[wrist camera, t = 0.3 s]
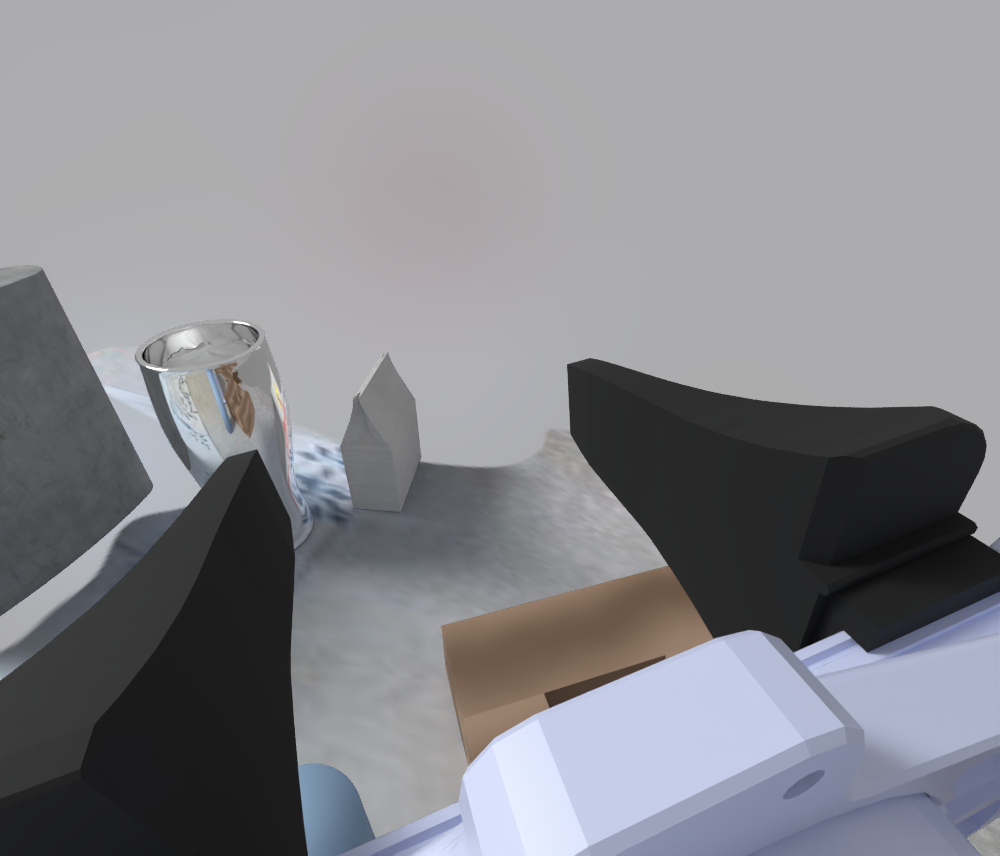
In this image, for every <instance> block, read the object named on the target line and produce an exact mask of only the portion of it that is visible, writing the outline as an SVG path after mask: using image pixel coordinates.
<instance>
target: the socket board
mask: <svg viewBox="0 0 1000 856" xmlns="http://www.w3.org/2000/svg"><path fill="white" fill-rule="evenodd" d="M442 636H443V646H444V656H445V665H446V671H447V676H448V680H449V684H450V689H451V693H452V697H453V701H454V706H455V710H456V714H457V719H458V723H459V727H460V732H461V736H462V740H463V745H464V749H465V753H466V758H467V762H468V766H469V765H470V764H471V763H472V762H473V761H474V760H475V759H476V757H477V756H478V755H479V754H480V753H481V752H482V751H483V750H484V749H485V748H486V747H487V746H488V745H489V743H490V742H491V741H492V740H493V739H494V738H495V737H497V736H499V735H500V734H502V733H504V732H506V731H507V730H509V729H511V728H512V727H514V726H516V725H518V724H519V723H521V722H523V721H524V720H526V719H528V718H530V717H531V716H533V715H535V714H537V713H540V712H542V711H544V710H547V709H549V708H551V707H554V706H556V705H559V704H561V703H563V702H566V701H568V700H570V699H573V698H575V697H578V696H580V695H582V694H585V693H587V692H589V691H592V690H594V689H596V688H599V687H601V686H604V685H606V684H608V683H611V682H613V681H615V680H618V679H620V678H623V677H625V676H627V675H630V674H632V673H634V672H637V671H639V670H642V669H644V668H646V667H649V666H651V665H653V664H656V663H658V662H661V661H663V660H665V659H668V658H670V657H672V656H675V655H677V654H679V653H682V652H684V651H687V650H689V649H691V648H694V647H696V646H698V645H701V644H703V643H706V642H708V641H710V640H713V637H712V636H711V634H710V632H709V630H708V629H707V627H706V625H705V624H704V622H703V620H702V618H701V617H700V615H699V613H698V612H697V610H696V608H695V607H694V605H693V603H692V602H691V600H690V599H689V597H688V595H687V594H686V592H685V591H684V589H683V587H682V586H681V584H680V583H679V581H678V579H677V578H676V576H675V575H674V573H673V571H672V570H671V568H670V567H669V566H665V567H662V568H658V569H654V570H650V571H647V572H643V573H639V574H635V575H632V576H628V577H624V578H620V579H616V580H613V581H609V582H605V583H601V584H598V585H594V586H590V587H586V588H583V589H579V590H575V591H571V592H567V593H564V594H560V595H556V596H552V597H549V598H545V599H541V600H537V601H534V602H530V603H526V604H522V605H518V606H515V607H511V608H507V609H503V610H500V611H496V612H492V613H488V614H485V615H481V616H477V617H473V618H469V619H466V620H462V621H458V622H454V623H451V624H447V625H443V626H442Z"/></svg>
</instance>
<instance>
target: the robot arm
mask: <svg viewBox="0 0 1000 856" xmlns="http://www.w3.org/2000/svg"><path fill="white" fill-rule="evenodd" d="M567 371H568V390H569V410H570V432H571V436H572V437H573V439H574V441H575V442H576V444H577V446H578V447H579V449H580V451H581V452H582V454H583V456H584V457H585V459H586V460H587V462H588V463H589V465H590V466H591V467H592V469H593V470H594V471H595V472H596V473H597V475H598V476H599V477H600V478H601V480H602V481H603V482H604V483H605V484H606V486H607V487H608V488H609V489H610V490H611V491H612V493H613V494H614V495H615V496H616V497H617V499H618V500H619V501H620V502H621V503H622V504H623V506H624V507H625V508H626V509H627V510H628V512H629V513H630V514H631V515H632V516H633V517H634V519H635V520H636V521H637V522H638V523H639V525H640V526H641V527H642V528H643V530H644V531H645V532H646V534H647V535H648V536H649V537H650V539H651V540H652V542H653V543H654V545H655V546H656V547H657V549H658V550H659V552H660V553H661V555H662V556H663V558H664V559H665V561H666V562H667V564H668V565H669V567H670V568H671V570H672V571H673V573H674V575H675V576H676V578H677V579H678V581H679V583H680V584H681V586H682V587H683V589H684V591H685V592H686V594H687V595H688V597H689V599H690V600H691V602H692V603H693V605H694V607H695V608H696V610H697V612H698V613H699V615H700V617H701V618H702V620H703V622H704V624H705V625H706V627H707V629H708V630H709V632H710V634H711V636H712V637H713V640H710V641H708V642H706V643H703V644H701V645H698V646H696V647H694V648H691V649H689V650H687V651H684V652H682V653H679V654H677V655H675V656H672V657H670V658H668V659H665V660H663V661H661V662H658V663H656V664H653V665H651V666H649V667H646V668H644V669H642V670H639V671H637V672H634V673H632V674H630V675H627V676H625V677H623V678H620V679H618V680H615V681H613V682H611V683H608V684H606V685H604V686H601V687H599V688H596V689H594V690H592V691H589V692H587V693H585V694H582V695H580V696H578V697H575V698H573V699H570V700H568V701H566V702H563V703H561V704H559V705H556V706H554V707H551V708H549V709H547V710H544V711H542V712H540V713H537V714H535V715H533V716H531V717H530V718H528V719H526V720H524V721H523V722H521V723H519V724H518V725H516V726H514V727H512V728H511V729H509V730H507V731H506V732H504V733H502V734H500V735H499V736H497V737H495V738H494V739H493V740H492V741H491V742H490V743H489V745H488V746H487V747H486V748H485V749H484V750H483V751H482V752H481V753H480V754H479V755H478V756H477V757H476V759H475V760H474V761H473V762H472V763H471V764H470V765H469V766H468V768H467V770H466V772H465V774H464V776H463V779H462V785H461V790H460V796H459V801H458V802H457V803H455V804H452V805H450V806H448V807H446V808H443V809H441V810H439V811H437V812H434V813H432V814H430V815H428V816H425V817H423V818H421V819H419V820H416V821H414V822H412V823H410V824H407V825H405V826H403V827H401V828H398V829H396V830H394V831H392V832H389V833H387V834H385V835H383V836H380V837H378V838H376V839H374V840H371V841H369V842H367V843H365V844H362V845H360V846H358V847H356V848H353V849H351V850H349V851H347V852H344V853H342V854H340V855H338V856H982V855H981V854H980V853H979V852H978V851H977V850H976V848H975V847H974V846H973V845H972V844H971V843H970V842H969V841H968V840H967V839H966V838H968V837H969V836H971V835H972V834H974V833H975V832H977V831H978V830H980V829H981V828H983V827H985V826H986V825H988V824H989V823H991V822H992V821H994V820H995V819H997V818H999V817H1000V538H998V539H997V540H996V541H995V542H994V543H993V544H992V545H991V546H990V547H988V546H987V545H985V544H984V543H982V542H981V541H979V540H977V539H976V538H974V537H973V536H971V534H973V533H975V531H976V530H977V526H976V524H975V522H973V521H972V520H970V519H968V518H967V517H965V516H963V515H962V514H960V513H958V511H959V509H960V507H961V505H962V503H963V501H964V499H965V497H966V495H967V493H968V491H969V490H970V488H971V486H972V484H973V482H974V480H975V478H976V476H977V474H978V473H979V470H980V468H981V466H982V463H983V461H984V458H985V452H986V440H985V437H984V433H983V430H981V429H980V428H979V427H978V426H977V425H975V424H973V423H971V422H969V421H967V420H965V419H962V418H960V417H958V416H956V415H954V414H952V413H950V412H947V411H945V410H943V409H940V408H937V407H933V406H925V407H887V408H886V407H883V408H851V407H824V406H809V405H797V404H787V403H777V402H768V401H760V400H753V399H747V398H741V397H736V396H730V395H725V394H719V393H714V392H710V391H706V390H702V389H697V388H693V387H690V386H686V385H681V384H678V383H675V382H671V381H667V380H664V379H660V378H657V377H654V376H651V375H647V374H644V373H641V372H637V371H635V370H631V369H628V368H625V367H622V366H618V365H615V364H612V363H609V362H605V361H600V360H597V359H591V358H589V359H585V360H582V361H578V362H575V363H571V364H568V365H567ZM294 569H295V554H294V543H293V534H292V525H291V518H290V516H289V514H288V512H287V510H286V508H285V506H284V504H283V502H282V500H281V498H280V496H279V494H278V491H277V489H276V487H275V485H274V483H273V481H272V479H271V477H270V475H269V473H268V471H267V469H266V466H265V464H264V462H263V460H262V458H261V456H260V454H259V452H258V450H257V449H255V450H252V451H248V452H244V453H241V454H237V455H233V456H230V457H227V458H226V459H225V460H224V461H223V462H222V463H221V465H220V466H219V467H218V468H217V469H216V471H215V472H214V473H213V474H212V476H211V477H210V478H209V480H208V481H207V482H206V483H205V485H204V486H203V487H202V489H201V490H200V491H199V493H198V494H197V495H196V496H195V497H194V499H193V500H192V501H191V503H190V504H189V505H188V506H187V507H186V509H185V510H184V511H183V512H182V514H181V515H180V516H179V517H178V519H177V520H176V521H175V522H174V523H173V524H172V525H171V527H170V528H169V529H168V530H167V531H166V532H165V533H164V535H163V536H162V537H161V538H160V539H159V540H158V541H157V542H156V544H155V545H154V546H153V547H152V548H151V549H150V550H149V551H148V553H147V554H146V555H145V556H144V557H143V558H142V559H141V560H140V561H139V562H138V563H137V564H136V565H135V567H134V568H133V569H132V570H131V571H130V572H129V573H128V574H127V575H126V576H125V577H124V578H123V579H121V580H120V581H119V582H118V583H117V584H116V585H115V586H114V587H113V588H112V589H111V590H110V591H109V592H108V593H107V594H106V595H105V596H104V597H102V598H101V599H100V600H99V601H98V602H97V603H96V604H95V605H94V606H93V607H91V608H90V609H89V610H88V611H87V612H86V613H84V614H83V615H82V616H81V617H80V618H78V619H77V620H76V621H75V622H74V623H72V624H71V625H70V626H69V627H68V628H66V629H65V630H64V631H63V632H62V633H60V634H59V635H58V636H57V637H56V638H54V639H53V640H52V641H51V642H50V643H48V644H47V645H46V646H45V647H44V648H42V649H41V650H40V651H39V652H37V653H36V654H35V655H34V656H32V657H31V658H30V659H28V660H27V661H26V662H24V663H23V664H22V665H21V666H19V667H18V668H17V669H15V670H14V671H13V672H11V673H10V674H9V675H7V676H6V677H5V678H3V679H2V680H1V681H0V856H308V850H307V843H306V835H305V827H304V819H303V809H302V800H301V791H300V781H299V772H298V762H297V751H296V739H295V727H294V716H293V701H292V685H291V632H292V612H293V592H294Z"/></svg>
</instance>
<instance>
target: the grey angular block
mask: <svg viewBox="0 0 1000 856" xmlns="http://www.w3.org/2000/svg"><path fill="white" fill-rule="evenodd" d="M340 448H341V452H342V457H343V462H344V466H345V471H346V475H347V480H348V484H349V489H350V493H351V498H352V502H353V507H354V508H356V509H369V510H382V511H394V512H401V510H402V508H403V505H404V502H405V499H406V497H407V494H408V491H409V489H410V486H411V483H412V481H413V478H414V475H415V472H416V470H417V467H418V464H419V462H420V459H421V452H420V442H419V432H418V423H417V414H416V404H415V399H414V397H413V396H412V394H411V393H410V391H409V389H408V388H407V387H406V385H405V383H404V382H403V380H402V379H401V377H400V376H399V374H398V373H397V371H396V369H395V367H394V365H393V364H392V362H391V360H390V357H389V354H388V353H386V354H385V355H384V356H383V353H382V355H381V356H380V358H379V360H378V361H377V363H376V364H375V366H374V368H373V369H372V370H371V372H370V373H369V375H368V377H367V378H366V380H365V381H364V383H363V384H362V386H361V388H360V389H359V391H358V392H357V394H356V395H355V397H354V398H353V410H352V414H351V418H350V422H349V425H348V427H347V430H346V433H345V436H344V438H343V441H342V444H341V446H340Z"/></svg>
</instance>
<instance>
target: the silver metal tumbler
mask: <svg viewBox="0 0 1000 856" xmlns="http://www.w3.org/2000/svg"><path fill="white" fill-rule="evenodd" d="M135 360H136V362H137V363H138V366H139V368H140V371H141V374H142V377H143V380H144V383H145V386H146V389H147V392H148V395H149V398H150V401H151V404H152V406H153V409H154V411H155V414H156V416H157V418H158V421H159V423H160V426H161V427H162V429H163V431H164V433H165V435H166V437H167V439H168V441H169V443H170V445H171V446H172V448H173V449H174V451H175V452H176V454H177V455H178V457H179V459H180V460H181V462H182V463H183V464H184V466H185V467H186V468H187V470H188V471H189V472H190V474H191V475H192V476H193V478H194V479H195V480H196V482H197V483H198V484H199V485H200V487H201V488H202V487H203V486H204V485H205V483H206V482H207V481H208V480H209V478H210V477H211V476H212V474H213V473H214V472H215V471H216V469H217V468H218V467H219V466H220V465H221V463H222V462H223V461H224V460H225V459H226V458H227V457H230V456H233V455H237V454H241V453H244V452H248V451H252V450H255V449H257V450H258V452H259V454H260V456H261V458H262V460H263V462H264V464H265V466H266V469H267V471H268V473H269V475H270V477H271V479H272V481H273V483H274V485H275V487H276V489H277V491H278V494H279V496H280V498H281V500H282V502H283V504H284V506H285V508H286V510H287V512H288V514H289V516H290V518H291V525H292V534H293V543H294V549H295V548H297V547H298V546H299V545H300V544H301V543H302V542H303V541H304V540H305V539H306V538H307V537H308V535H309V533H310V532H311V529H312V526H313V515H312V512H311V510H310V508H309V506H308V504H307V503H306V501H305V499H304V498H303V496H302V494H301V492H300V490H299V488H298V485H297V481H296V477H295V470H294V457H293V439H292V427H291V419H290V412H289V406H288V402H287V398H286V394H285V390H284V388H283V384H282V380H281V378H280V374H279V371H278V369H277V366H276V363H275V361H274V358H273V355H272V353H271V351H270V348H269V345H268V343H267V340H266V337H265V332H264V330H263V329H262V328H261V327H260V326H258V325H257V324H254V323H251V322H248V321H243V320H234V319H219V320H207V321H201V322H195V323H190V324H186V325H182V326H178V327H175V328H172V329H169V330H167V331H164V332H162V333H159V334H157V335H155V336H153V337H152V338H150V339H148V340H147V341H145V342H144V343H143V344H142V345H141V346H140V347H139V348H138V349H137V351H136V353H135Z"/></svg>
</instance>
